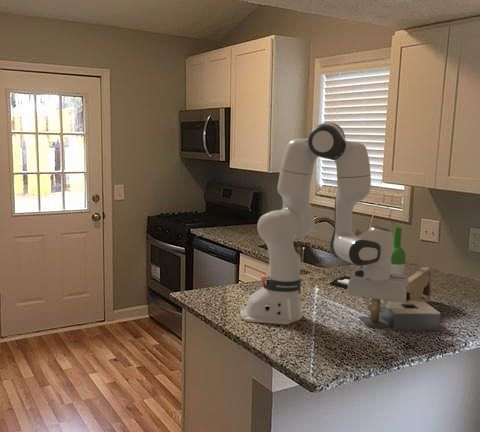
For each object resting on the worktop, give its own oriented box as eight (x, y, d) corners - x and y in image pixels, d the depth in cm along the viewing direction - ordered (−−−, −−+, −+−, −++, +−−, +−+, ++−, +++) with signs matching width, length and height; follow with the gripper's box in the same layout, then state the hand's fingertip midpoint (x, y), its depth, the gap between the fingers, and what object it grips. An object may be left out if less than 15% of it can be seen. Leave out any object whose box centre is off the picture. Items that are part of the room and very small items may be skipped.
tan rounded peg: (374, 322, 183) (375, 299, 182) (368, 319, 186) (370, 297, 185) (380, 321, 184) (382, 299, 183) (375, 318, 187) (376, 296, 186)
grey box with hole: (393, 330, 178) (394, 312, 177) (379, 316, 192) (380, 300, 191) (438, 330, 179) (440, 312, 178) (421, 317, 193) (423, 300, 192)
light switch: (327, 280, 233) (344, 273, 243) (326, 287, 234) (343, 278, 244) (366, 290, 220) (382, 282, 230) (366, 297, 221) (382, 288, 231)
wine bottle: (380, 300, 212) (386, 227, 208) (384, 295, 219) (389, 225, 215) (400, 303, 209) (406, 229, 205) (403, 298, 216) (409, 226, 212)
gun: (424, 299, 216) (426, 264, 213) (432, 300, 214) (434, 265, 211) (400, 318, 198) (402, 280, 194) (409, 320, 196) (410, 282, 192)
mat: (367, 327, 180) (367, 326, 180) (358, 317, 190) (359, 316, 190) (390, 327, 181) (390, 326, 181) (380, 317, 191) (380, 316, 191)
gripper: (409, 274, 182) (406, 312, 183) (350, 267, 189) (348, 303, 191) (408, 278, 176) (405, 317, 178) (347, 270, 183) (345, 308, 185)
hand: (375, 310), depth 185 cm, fingers closed on tan rounded peg, 3 cm apart
